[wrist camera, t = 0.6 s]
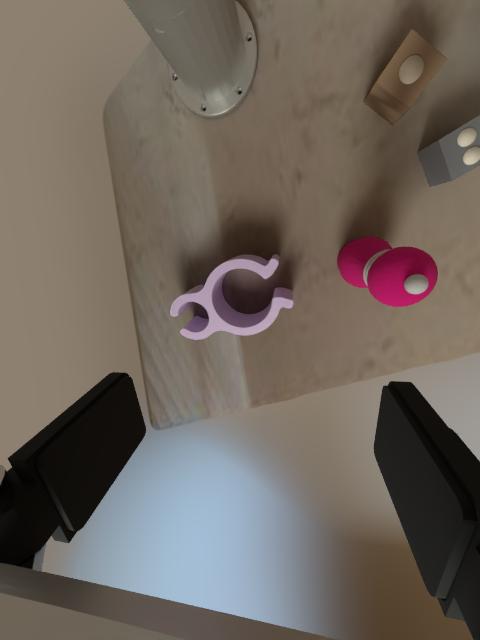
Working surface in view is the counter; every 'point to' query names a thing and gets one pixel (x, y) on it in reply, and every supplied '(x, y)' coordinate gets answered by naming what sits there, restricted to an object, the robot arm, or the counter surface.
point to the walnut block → (405, 77)
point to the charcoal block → (452, 154)
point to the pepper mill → (388, 270)
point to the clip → (219, 308)
